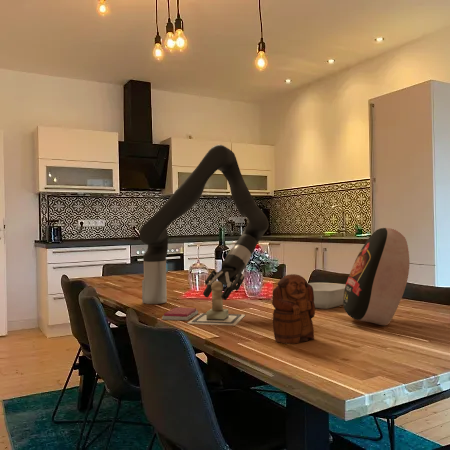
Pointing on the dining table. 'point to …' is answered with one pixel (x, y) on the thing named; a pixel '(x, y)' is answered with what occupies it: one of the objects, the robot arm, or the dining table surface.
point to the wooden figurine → (293, 310)
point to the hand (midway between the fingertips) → (214, 297)
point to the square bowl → (328, 294)
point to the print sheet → (231, 320)
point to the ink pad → (180, 314)
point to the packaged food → (378, 278)
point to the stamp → (217, 303)
